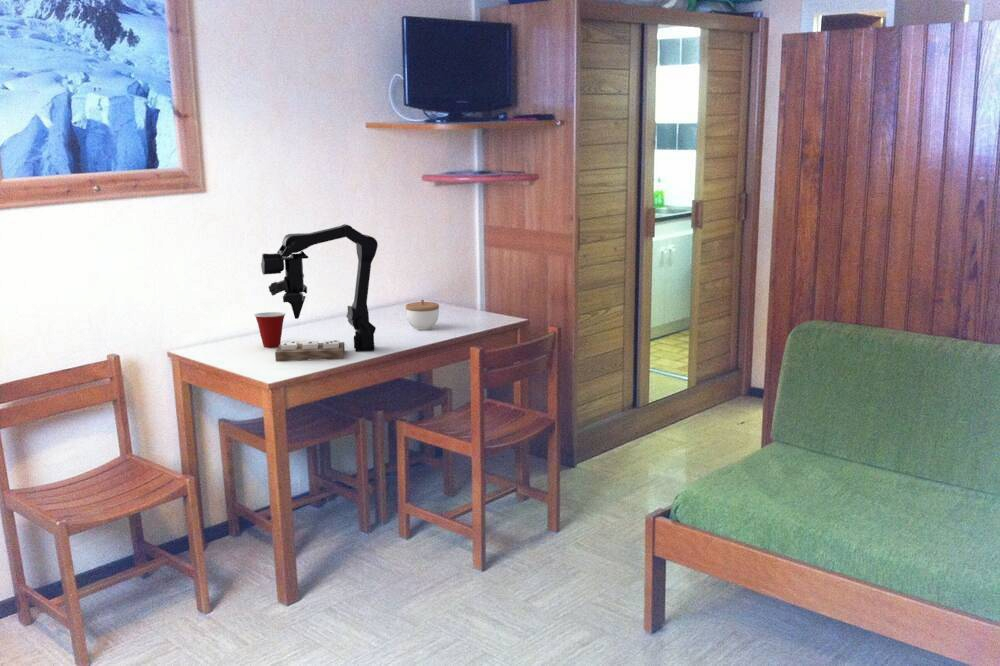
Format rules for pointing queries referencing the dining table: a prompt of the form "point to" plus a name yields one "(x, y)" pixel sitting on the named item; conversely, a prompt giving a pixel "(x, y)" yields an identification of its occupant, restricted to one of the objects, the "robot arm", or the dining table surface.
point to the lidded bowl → (422, 314)
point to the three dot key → (331, 344)
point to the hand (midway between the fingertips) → (296, 318)
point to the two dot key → (289, 346)
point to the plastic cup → (270, 328)
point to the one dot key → (310, 345)
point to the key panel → (310, 353)
